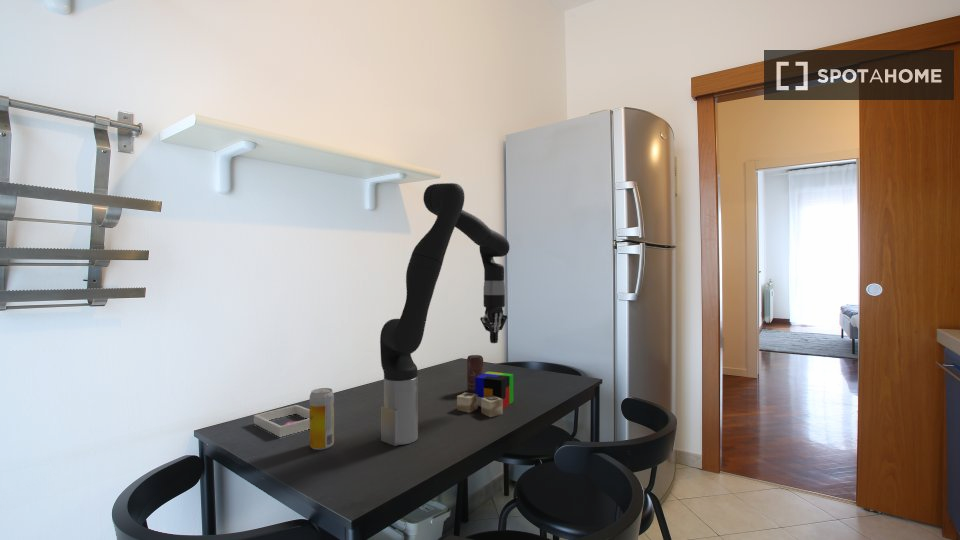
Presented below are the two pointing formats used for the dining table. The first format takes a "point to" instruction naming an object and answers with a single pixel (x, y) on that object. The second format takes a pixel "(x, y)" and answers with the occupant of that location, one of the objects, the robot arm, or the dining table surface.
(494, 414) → the marked block
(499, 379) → the puzzle toy
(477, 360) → the can
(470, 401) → the marked block
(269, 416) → the dish rim
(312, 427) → the beer can
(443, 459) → the dining table surface
